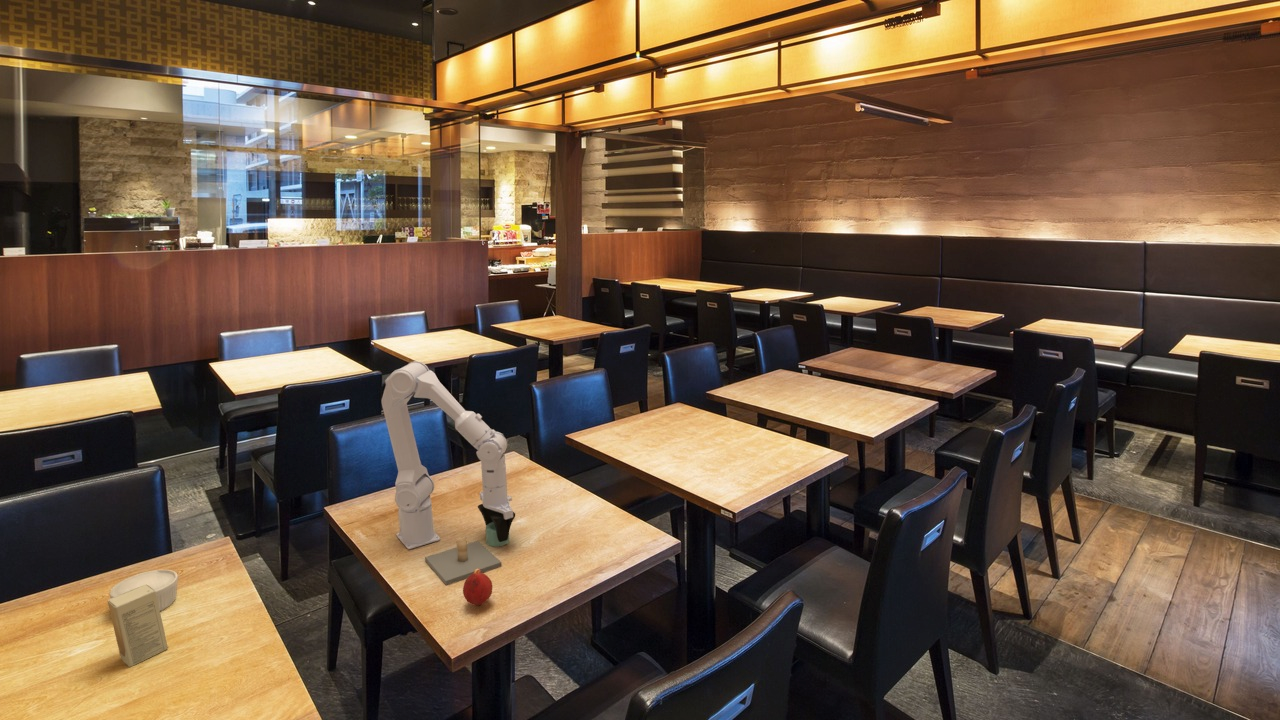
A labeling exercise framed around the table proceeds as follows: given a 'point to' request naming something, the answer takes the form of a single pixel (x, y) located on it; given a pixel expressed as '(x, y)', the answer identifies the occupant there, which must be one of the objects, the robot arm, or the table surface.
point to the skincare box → (137, 624)
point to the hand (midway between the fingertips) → (497, 535)
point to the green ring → (493, 536)
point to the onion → (477, 588)
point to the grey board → (462, 563)
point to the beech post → (462, 549)
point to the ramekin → (151, 585)
